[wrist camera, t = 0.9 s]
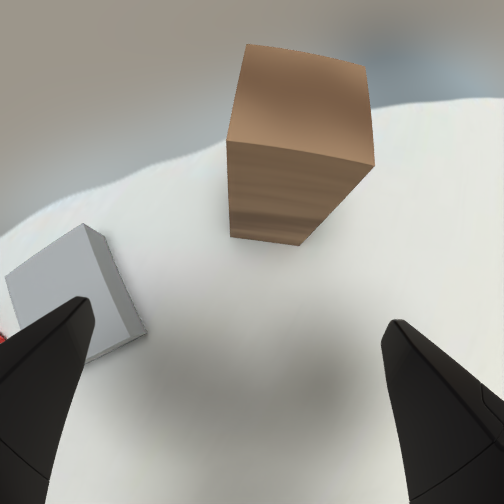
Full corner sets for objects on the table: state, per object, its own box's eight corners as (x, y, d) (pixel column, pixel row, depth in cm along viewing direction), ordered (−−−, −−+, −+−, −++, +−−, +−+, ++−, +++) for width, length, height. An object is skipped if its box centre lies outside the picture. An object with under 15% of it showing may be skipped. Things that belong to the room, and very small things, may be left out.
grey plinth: (148, 332, 21) (130, 336, 17) (68, 372, 20) (42, 380, 16) (105, 237, 22) (83, 222, 18) (33, 282, 21) (4, 276, 17)
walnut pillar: (299, 246, 22) (374, 165, 10) (230, 236, 22) (226, 140, 9) (304, 183, 23) (365, 66, 10) (239, 174, 23) (246, 44, 10)
